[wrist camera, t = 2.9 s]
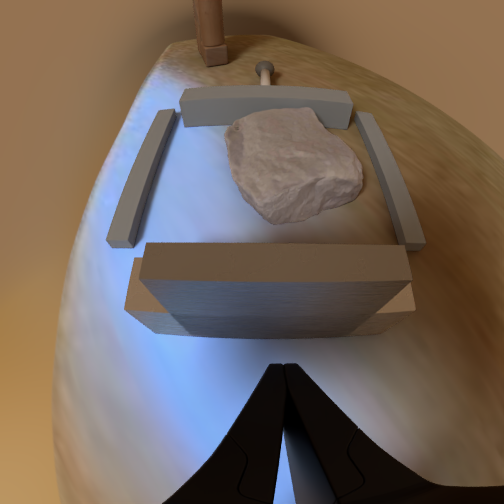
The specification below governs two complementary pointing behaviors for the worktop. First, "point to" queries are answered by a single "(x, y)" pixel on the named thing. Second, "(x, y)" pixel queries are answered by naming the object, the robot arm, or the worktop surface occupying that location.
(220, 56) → the wooden block
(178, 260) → the bar
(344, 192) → the stone block
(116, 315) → the worktop surface
